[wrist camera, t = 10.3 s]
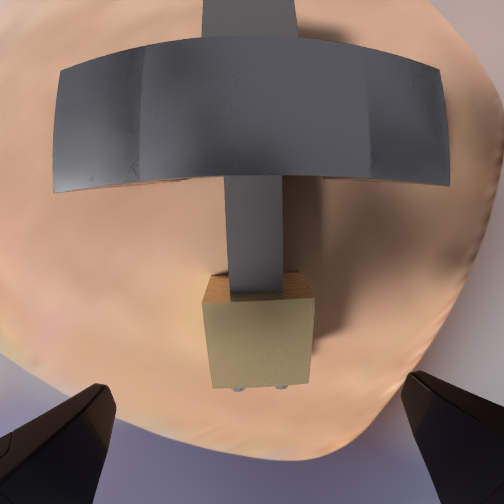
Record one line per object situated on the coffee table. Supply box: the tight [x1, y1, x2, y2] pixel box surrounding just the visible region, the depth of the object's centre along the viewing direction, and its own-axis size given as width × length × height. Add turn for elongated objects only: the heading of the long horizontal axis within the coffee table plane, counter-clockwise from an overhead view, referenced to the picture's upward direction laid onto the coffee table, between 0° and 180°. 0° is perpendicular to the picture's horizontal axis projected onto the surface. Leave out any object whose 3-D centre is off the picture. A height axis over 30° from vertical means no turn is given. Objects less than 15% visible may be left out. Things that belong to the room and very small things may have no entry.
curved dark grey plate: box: [53, 35, 450, 193], centre depth 9 cm, size 4×12×5 cm, turn 91°
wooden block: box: [202, 272, 315, 392], centre depth 12 cm, size 5×4×3 cm
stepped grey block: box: [202, 0, 299, 293], centre depth 9 cm, size 11×3×4 cm, turn 2°
